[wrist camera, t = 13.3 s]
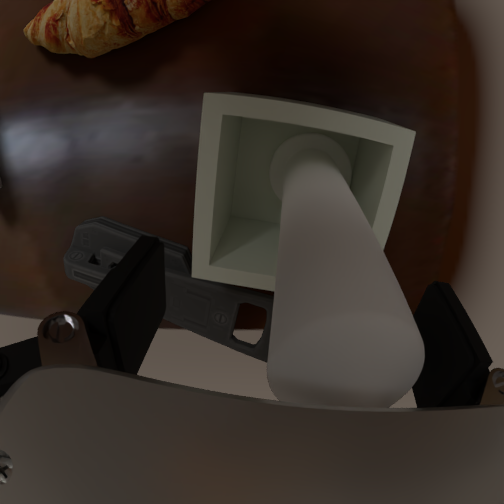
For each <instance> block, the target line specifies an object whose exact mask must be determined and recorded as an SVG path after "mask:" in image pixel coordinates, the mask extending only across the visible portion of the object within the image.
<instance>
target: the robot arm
mask: <svg viewBox="0 0 504 504" xmlns="http://www.w3.org/2000/svg"><path fill="white" fill-rule="evenodd" d="M165 311H166V286H165V252H164V243H163V242H160V240H159V238H158V237H153V236H147V235H142V236H140V238H139V239H138V240H137V241H136V242H135V244H134V245H133V246H132V247H131V248H130V250H129V251H128V252H127V253H126V254H125V256H124V257H123V258H122V259H121V261H120V262H119V263H118V264H117V266H116V267H115V268H112V269H111V270H110V271H109V272H108V274H107V275H106V276H105V277H104V279H103V280H102V281H101V282H100V284H99V285H98V286H97V288H96V289H95V290H94V291H93V293H92V294H91V295H90V297H89V298H88V299H87V301H86V302H85V303H84V305H83V306H82V307H81V309H80V310H79V311H78V313H77V314H76V313H73V312H68V311H61V312H56V313H53V314H50V315H49V316H47V317H46V318H45V319H44V320H43V321H42V322H41V323H40V325H39V327H38V334H37V335H38V336H37V337H34V338H30V339H27V340H24V341H21V342H18V343H14V344H11V345H8V346H5V347H1V348H0V504H504V369H501V368H494V369H493V370H491V372H490V371H489V369H488V367H489V366H490V365H491V363H492V362H493V361H492V359H491V357H490V355H489V353H488V351H487V349H486V347H485V345H484V343H483V341H482V340H481V338H480V336H479V334H478V332H477V330H476V328H475V327H474V325H473V323H472V321H471V320H470V318H469V316H468V315H467V313H466V311H465V309H464V308H463V306H462V304H461V302H460V301H459V299H458V297H457V296H456V294H455V292H454V291H453V289H452V288H451V286H450V285H449V283H444V282H438V281H434V282H433V283H432V284H430V285H428V287H427V288H426V291H425V293H424V295H423V297H422V299H421V301H420V303H419V305H418V307H417V309H416V311H415V313H414V315H413V318H414V320H415V322H416V325H417V327H418V330H419V332H420V335H421V337H422V340H423V343H424V351H425V359H424V365H423V368H422V371H421V373H420V375H419V377H418V379H417V381H416V382H415V384H414V385H413V386H412V389H413V393H414V397H415V400H416V404H417V408H367V407H343V406H327V405H314V404H303V403H293V402H284V401H276V400H267V399H259V398H253V397H246V396H239V395H233V394H227V393H221V392H215V391H210V390H204V389H199V388H194V387H189V386H184V385H179V384H174V383H170V382H165V381H160V380H156V379H152V378H147V377H143V376H139V375H137V373H138V371H139V368H140V366H141V364H142V362H143V360H144V357H145V355H146V353H147V351H148V349H149V346H150V344H151V342H152V340H153V338H154V336H155V333H156V331H157V329H158V327H159V325H160V323H161V321H162V319H163V317H164V314H165Z"/></svg>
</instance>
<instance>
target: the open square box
mask: <svg viewBox="0 0 504 504" xmlns="http://www.w3.org/2000/svg"><path fill="white" fill-rule="evenodd" d="M301 133H319V134H323V135H325V136H328V137H330V138H331V139H333V140H335V141H336V142H337V143H338V144H339V145H340V146H341V147H342V148H343V149H344V151H345V152H346V154H347V155H348V158H349V160H350V163H351V168H352V179H351V184H350V187H349V188H350V190H351V192H352V193H353V195H354V197H355V199H356V201H357V202H358V204H359V206H360V208H361V210H362V212H363V213H364V215H365V217H366V219H367V221H368V223H369V225H370V227H371V228H372V230H373V232H374V234H375V236H376V238H377V240H378V242H379V244H380V246H381V248H382V250H384V247H385V244H386V241H387V238H388V234H389V231H390V228H391V225H392V222H393V218H394V215H395V212H396V208H397V205H398V201H399V198H400V194H401V190H402V187H403V183H404V179H405V175H406V171H407V167H408V163H409V159H410V155H411V151H412V147H413V142H414V138H415V133H416V132H415V131H413V130H410V129H407V128H405V127H402V126H399V125H396V124H394V123H391V122H388V121H385V120H382V119H379V118H376V117H373V116H369V115H365V114H361V113H357V112H352V111H348V110H343V109H339V108H334V107H329V106H324V105H319V104H314V103H309V102H303V101H297V100H291V99H285V98H278V97H271V96H264V95H256V94H248V93H238V92H207V93H204V97H203V107H202V117H201V128H200V139H199V151H198V163H197V177H196V192H195V209H194V228H193V251H192V277H193V278H199V279H204V280H210V281H216V282H221V283H227V284H233V285H239V286H245V287H251V288H257V289H263V290H269V291H275V281H276V270H277V258H278V247H279V235H280V223H281V210H282V201H281V200H280V199H279V198H278V197H277V196H276V194H275V192H274V191H273V189H272V186H271V183H270V178H269V168H270V163H271V159H272V157H273V155H274V153H275V151H276V150H277V148H278V147H279V146H280V145H281V144H282V143H283V142H284V141H286V140H287V139H289V138H290V137H292V136H295V135H297V134H301Z"/></svg>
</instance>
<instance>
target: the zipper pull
mask: <svg viewBox="0 0 504 504" xmlns="http://www.w3.org/2000/svg"><path fill="white" fill-rule="evenodd" d="M142 235H147V236H153V237H158V236H155V235H153V234H150V233H147V232H144V231H141V230H139V229H136V228H133V227H130V226H127V225H125V224H122V223H119V222H117V221H114V220H112V219H109V218H106V217H103V216H102V217H98V218H93V219H89V220H85V221H84V222H83V223H81V224H80V225H79V226H77V227H76V229H75V232H74V236H73V240H72V244H71V247H70V248H69V249H68V251H67V252H66V254H65V256H64V266H65V273H66V275H67V276H68V278H70V279H73V280H75V281H78V282H81V283H84V284H86V285H88V286H89V287H91V288H92V289H94V290H95V289H96V288H97V286H98V285H99V284H100V282H101V281H102V280H103V279H104V277H105V276H106V275H107V274H108V272H109V271H110V270H111V269H112V268H115V267H116V266H117V264H118V263H119V262H120V261H121V259H122V258H123V257H124V256H125V254H126V253H127V252H128V251H129V250H130V248H131V247H132V246H133V245H134V244H135V242H136V241H137V240H138V239H139V238H140V236H142ZM158 238H159V240H160V242H163V243H164V252H165V286H166V311H165V314H164V317H163V319H166V320H168V321H170V322H172V323H174V324H176V325H179V326H181V327H183V328H185V329H187V330H190V331H192V332H194V333H197V334H199V335H201V336H203V337H206V338H208V339H210V340H213V341H215V342H218V343H220V344H222V345H225V346H227V347H229V348H232V349H234V350H236V351H239V352H241V353H244V354H246V355H249V356H252V357H254V358H256V359H259V360H262V361H265V362H267V361H268V352H269V342H270V332H271V322H272V312H273V302H274V296H271V295H268V294H264V293H260V292H256V291H252V290H248V289H243V288H239V287H235V286H231V285H228V284H224V283H220V282H216V281H210V280H204V279H199V278H193V277H192V256H191V254H190V251H189V249H188V247H186V246H184V245H181V244H178V243H175V242H173V241H170V240H167V239H164V238H161V237H158ZM246 302H247V303H250V304H253V305H256V306H259V307H262V308H265V310H266V311H267V321H266V324H265V327H264V330H263V334H262V337H261V338H260V340H259V341H258V342H257V344H254V345H253V344H250V343H247V342H244V341H241V340H238V339H237V338H236V337H235V336H234V335H233V331H234V327H235V323H236V319H237V315H238V310H239V306H240V304H241V303H246Z"/></svg>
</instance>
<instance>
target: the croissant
mask: <svg viewBox="0 0 504 504" xmlns="http://www.w3.org/2000/svg"><path fill="white" fill-rule="evenodd" d="M209 1H211V0H54V1H53V2H51V3H50V4H48V5H46V6H45V7H43V8H42V9H41V10H40V11H39V13H38V14H37V15H36V17H35V18H34V19H33V20H32V21H31V22H30V23H29V24H28V25H27V26H26V27H25V29H24V33H25V36H26V37H27V38H28V39H29V41H30V42H31V43H32V44H34V45H41V46H43V47H45V48H46V49H48V50H49V51H50V52H53V53H59V54H68V53H71V54H79V55H84V56H86V57H87V58H95V57H97V56H100V55H103V54H105V53H107V52H109V51H111V50H112V49H118V48H121V47H123V46H126V45H128V44H130V43H132V42H134V41H137V40H139V39H141V38H142V37H144V36H145V35H147V34H149V33H153V32H155V31H157V30H158V29H161V28H163V27H165V26H167V25H168V24H170V23H172V22H174V21H175V20H180V19H183V18H186V17H188V16H190V15H191V14H192V13H194V12H195V11H196V10H198V9H199V8H200V7H202V6H203V5H204V4H206V3H207V2H209Z"/></svg>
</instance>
